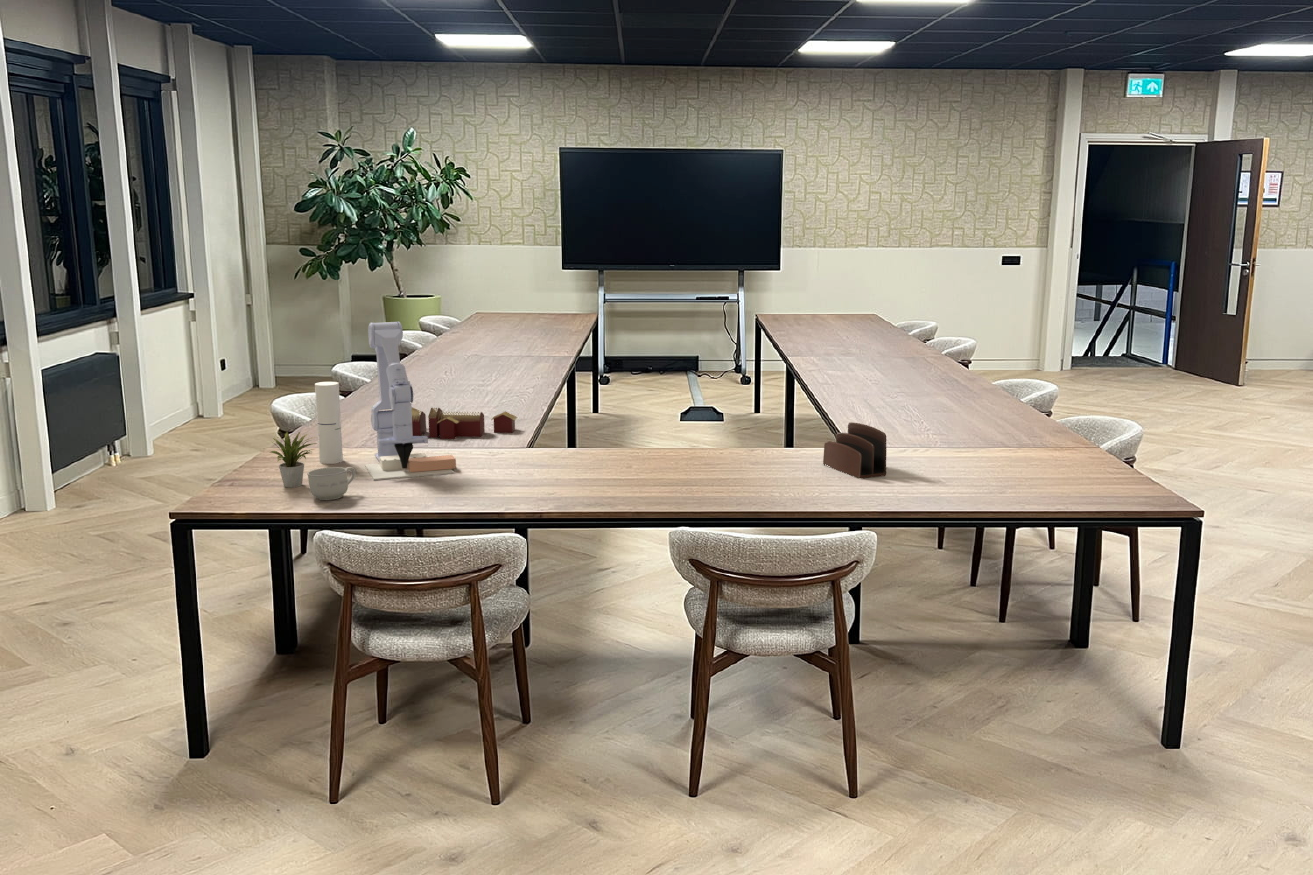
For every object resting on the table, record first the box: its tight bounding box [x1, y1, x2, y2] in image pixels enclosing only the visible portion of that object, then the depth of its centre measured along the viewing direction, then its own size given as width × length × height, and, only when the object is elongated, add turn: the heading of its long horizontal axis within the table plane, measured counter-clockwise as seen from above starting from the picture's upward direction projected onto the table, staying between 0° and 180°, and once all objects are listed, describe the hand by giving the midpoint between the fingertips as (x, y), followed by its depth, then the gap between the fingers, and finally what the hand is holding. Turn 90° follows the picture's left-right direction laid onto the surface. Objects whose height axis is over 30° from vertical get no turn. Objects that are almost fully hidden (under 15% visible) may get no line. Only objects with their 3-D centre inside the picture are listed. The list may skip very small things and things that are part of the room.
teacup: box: [307, 466, 357, 501], centre depth 317 cm, size 14×11×8 cm
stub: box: [407, 454, 457, 472], centre depth 348 cm, size 6×14×3 cm, turn 112°
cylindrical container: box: [314, 381, 344, 465], centre depth 357 cm, size 7×7×25 cm
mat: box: [364, 463, 455, 481], centre depth 349 cm, size 19×24×1 cm
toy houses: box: [411, 406, 518, 440], centre depth 401 cm, size 45×20×10 cm, turn 88°
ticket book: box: [378, 452, 429, 470], centre depth 351 cm, size 6×14×3 cm, turn 112°
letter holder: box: [822, 422, 887, 479], centre depth 350 cm, size 10×20×14 cm, turn 26°
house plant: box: [269, 430, 318, 489], centre depth 327 cm, size 14×14×16 cm
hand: (404, 467), depth 345 cm, fingers closed
